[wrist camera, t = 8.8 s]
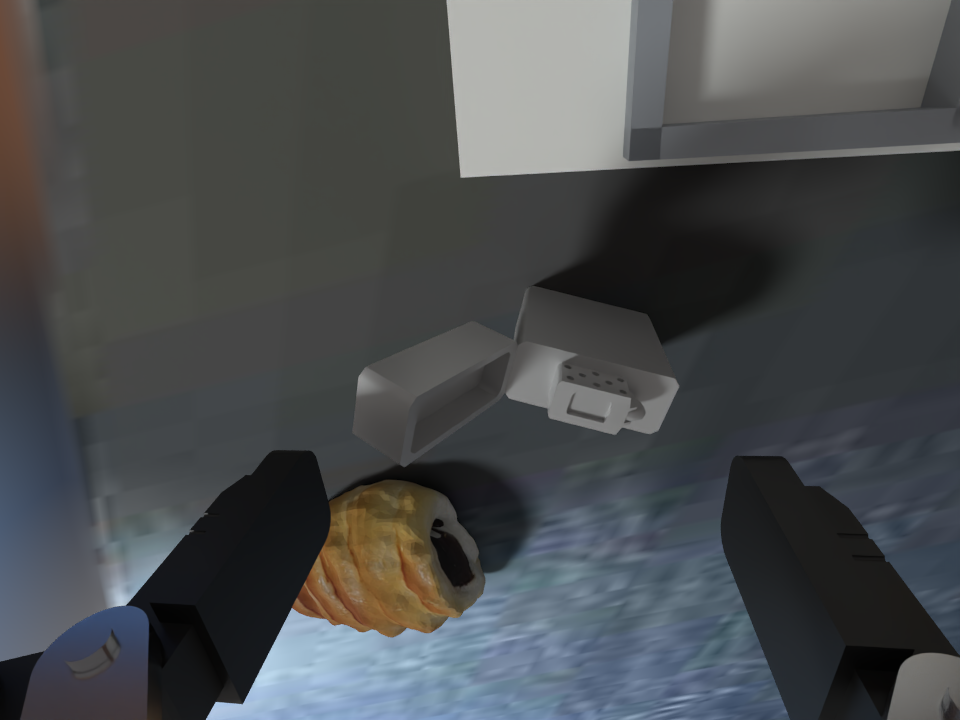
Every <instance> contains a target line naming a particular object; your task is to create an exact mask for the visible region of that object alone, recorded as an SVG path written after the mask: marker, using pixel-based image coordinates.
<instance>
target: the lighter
mask: <svg viewBox="0 0 960 720" xmlns="http://www.w3.org/2000/svg"><path fill="white" fill-rule="evenodd" d="M678 388H679V385H678V382H677V380H676V378H675V375H674V373H673V371H672V369H671V366H670V364H669V362H668V359H667V357H666V355H665V352H664V350H663V348H662V346H661V343H660V341H659V339H658V336H657V334H656V332H655V329H654V327H653V325H652V322H651V320H650V318H649V316H648V315H647V314H645V313H641V312H637V311H633V310H629V309H625V308H621V307H617V306H613V305H609V304H605V303H601V302H597V301H593V300H589V299H585V298H581V297H577V296H573V295H569V294H565V293H561V292H557V291H553V290H548V289H544V288H540V287H536V286H531V287H529V288H527V289H526V291H525V295H524V299H523V302H522V306H521V310H520V313H519V317H518V321H517V325H516V329H515V334H514V340H512V339H510V338H508V337H506V336H504V335H502V334H499V333H497V332H495V331H493V330H491V329H489V328H487V327H485V326H483V325H481V324H478V323H476V322H474V321H471V322H469V323H466V324H464V325H462V326H459V327H457V328H455V329H452V330H450V331H448V332H445V333H443V334H441V335H438V336H436V337H434V338H431V339H429V340H427V341H424V342H422V343H420V344H417V345H415V346H413V347H410V348H408V349H406V350H404V351H401V352H399V353H397V354H394V355H392V356H390V357H387V358H385V359H383V360H380V361H378V362H376V363H373V364H371V365H369V366H366V367H365V369H364V370H363V372H362V373H361V374H360V376H359V379H358V388H357V397H356V406H355V415H354V424H353V434H355V435H356V436H358V437H359V438H361V439H362V440H364V441H365V442H367V443H368V444H370V445H371V446H373V447H374V448H376V449H377V450H379V451H380V452H382V453H383V454H385V455H386V456H388V457H389V458H391V459H392V460H394V461H395V462H397V463H398V464H400V465H401V466H403V467H406V466H407V465H408V464H410V463H411V462H413V461H414V460H415V459H417V458H418V457H420V456H421V455H423V454H424V453H425V452H427V451H428V450H430V449H431V448H432V447H434V446H435V445H437V444H438V443H440V442H441V441H442V440H444V439H445V438H447V437H448V436H449V435H451V434H452V433H454V432H455V431H456V430H458V429H459V428H461V427H462V426H464V425H465V424H466V423H468V422H469V421H471V420H472V419H473V418H475V417H476V416H478V415H479V414H481V413H482V412H483V411H485V410H486V409H488V408H489V407H490V406H492V405H493V404H495V403H496V402H497V401H499V400H500V399H501V398H502V396H503V394H504V393H506V395H507V396H508V398H509V399H513V400H517V401H521V402H525V403H529V404H533V405H536V406H540V407H544V408H548V416H549V418H551V419H555V420H559V421H563V422H566V423H570V424H574V425H578V426H582V427H586V428H590V429H594V430H598V431H602V432H606V433H610V434H614V435H616V434H617V433H618V431H619V430H620V429H621V428H622V427H623V428H627V429H631V430H635V431H639V432H643V433H647V434H651V433H653V432H656V431H658V430H659V428H660V426H661V424H662V422H663V419H664V417H665V415H666V413H667V411H668V409H669V407H670V405H671V402H672V400H673V398H674V396H675V394H676V392H677V390H678Z"/></svg>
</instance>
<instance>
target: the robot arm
mask: <svg viewBox="0 0 960 720" xmlns="http://www.w3.org/2000/svg"><path fill="white" fill-rule="evenodd" d="M330 523H331V511H330V506H329V502H328V499H327V495H326V491H325V488H324V484H323V480H322V477H321V473H320V469H319V466H318V462H317V459H316V456H315V455H314V453H313V452H311V451H295V450H274V451H272V452H270V453H269V454H268V455H267V456H266V457H265V459H264V460H263V461H262V462H261V464H260V465H259V466H258V467H257V469H256V470H255V471H254V472H253V474H252V475H245V476H244V477H243V478H241V479H240V480H238V481H237V482H236V483H234V484H233V485H231V486H230V487H229V488H227V489H226V490H224V491H223V492H222V493H221V494H220V495H219V496H218V497H217V499H216V500H215V501H214V502H213V503H212V504H211V506H210V507H209V508H208V509H207V510H206V512H205V513H204V517H201V518H200V519H199V520H198V521H197V522H196V523H195V525H194V526H193V527H192V528H191V529H190V533H189V535H185V536H184V538H183V539H182V540H181V541H180V542H179V544H178V545H177V546H176V547H175V548H174V550H173V551H172V552H171V553H170V554H169V555H168V557H167V558H166V559H165V560H164V561H163V563H162V564H161V565H160V566H159V567H158V568H157V570H156V571H155V572H154V573H153V574H152V576H151V577H150V578H149V579H148V580H147V582H146V583H145V584H144V585H143V586H142V587H141V589H140V590H139V591H138V592H137V593H136V595H135V596H134V597H133V598H132V599H131V600H130V602H129V603H128V604H127V605H126V606H118V607H113V608H109V609H105V610H103V611H100V612H97V613H95V614H93V615H91V616H89V617H87V618H85V619H83V620H81V621H80V622H78V623H76V624H75V625H73V626H72V627H71V628H69V629H68V630H66V631H65V632H64V633H63V634H62V635H60V636H59V637H58V638H57V639H56V640H55V641H54V642H53V643H52V644H51V645H50V646H49V647H48V648H47V649H46V650H45V651H43V652H39V653H35V654H31V655H27V656H22V657H18V658H14V659H10V660H6V661H1V662H0V720H206V718H207V716H208V715H209V713H210V711H211V709H212V707H213V706H214V704H215V702H225V703H236V704H243V703H244V701H245V699H246V697H247V695H248V693H249V691H250V689H251V687H252V685H253V683H254V681H255V679H256V677H257V675H258V673H259V671H260V669H261V667H262V665H263V663H264V661H265V659H266V657H267V655H268V653H269V652H270V650H271V648H272V646H273V644H274V642H275V640H276V638H277V636H278V634H279V632H280V630H281V628H282V626H283V624H284V622H285V620H286V618H287V616H288V614H289V612H290V610H291V608H292V606H293V604H294V602H295V601H296V599H297V597H298V595H299V593H300V591H301V589H302V587H303V585H304V583H305V581H306V579H307V577H308V575H309V573H310V571H311V569H312V567H313V565H314V563H315V561H316V559H317V557H318V555H319V553H320V551H321V550H322V548H323V546H324V544H325V542H326V539H327V537H328V534H329V530H330ZM721 538H722V544H723V549H724V553H725V556H726V559H727V561H728V564H729V566H730V569H731V571H732V574H733V576H734V579H735V581H736V584H737V586H738V589H739V591H740V594H741V596H742V599H743V601H744V604H745V606H746V609H747V612H748V614H749V617H750V619H751V622H752V624H753V627H754V629H755V632H756V634H757V637H758V639H759V642H760V644H761V647H762V649H763V652H764V654H765V657H766V659H767V662H768V665H769V667H770V670H771V672H772V675H773V677H774V680H775V682H776V685H777V687H778V690H779V692H780V695H781V697H782V700H783V702H784V705H785V707H786V710H787V712H788V715H789V718H790V720H960V655H959V654H958V653H957V652H956V651H955V649H954V648H953V647H952V645H951V644H950V643H949V641H948V640H947V639H946V637H945V636H944V635H943V633H942V632H941V631H940V629H939V628H938V627H937V625H936V624H935V623H934V621H933V620H932V619H931V617H930V616H929V615H928V613H927V612H926V611H925V609H924V608H923V607H922V605H921V604H920V603H919V601H918V600H917V599H916V597H915V596H914V595H913V593H912V592H911V591H910V589H909V588H908V587H907V585H906V584H905V583H904V581H903V580H902V579H901V577H900V576H899V575H898V573H897V572H896V571H895V569H894V568H893V567H892V565H891V564H890V563H889V562H886V561H885V556H884V555H883V553H882V552H881V551H880V549H879V548H878V547H877V545H876V544H875V543H874V541H873V540H872V539H869V538H868V533H867V532H866V531H865V529H864V528H863V527H862V525H861V524H860V523H859V521H858V520H857V519H856V517H855V516H854V515H853V513H852V512H851V511H850V509H849V508H848V507H846V506H845V505H844V504H842V503H841V502H840V501H838V500H837V499H836V498H834V497H833V496H832V495H830V494H829V493H828V492H826V491H825V490H823V489H822V488H821V487H819V486H804V485H803V483H802V482H801V480H800V479H799V477H798V476H797V474H796V473H795V471H794V470H793V468H792V467H791V465H790V464H789V462H788V461H787V460H786V459H785V458H784V457H781V456H736V457H734V459H733V460H732V463H731V467H730V473H729V479H728V484H727V490H726V496H725V501H724V507H723V513H722V518H721Z"/></svg>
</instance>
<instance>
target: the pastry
mask: <svg viewBox="0 0 960 720" xmlns="http://www.w3.org/2000/svg"><path fill="white" fill-rule="evenodd" d="M329 506H330V511H331V523H330V530H329V534H328V537H327V539H326V542H325V544H324V546H323V548H322V550H321V551H320V553H319V555H318V557H317V559H316V561H315V563H314V565H313V567H312V569H311V571H310V573H309V575H308V577H307V579H306V581H305V583H304V585H303V587H302V589H301V591H300V593H299V595H298V597H297V599H296V601H295V602H294V604H293V606H292V608H293V609H294V610H296V611H297V612H299V613H301V614H303V615H306V616H309V617H315V618H322V619H327V620H328V621H329V622H330V623H331V624H332V625H339V624H344V625H348V626H350V627H352V628H354V629H356V630H358V631H359V632H366V631H369V630H371V629H374V630H377V631H378V632H379V633H381V634H383V635H385V636H388V637H395V636H397V635H399V634H401V633H402V632H403V631H404V630H405V629H406V628H410V629H415V630H418V631H421V632H423V633H431V632H433V631H434V630H436V629H438V628H439V627H440V626H442V624H443V623H444V622H445V621H446V620H447V618H448V617H453V618H458V617H460V616H461V615H462V613H463V611H465V610H466V609H468V608H469V607H470V606H472V605H473V604H474V603H475V602H476V600H477V598H479V597H480V596H481V595H482V594H483V590H484V585H485V576H484V574H483V571H482V569H481V565H480V560H479V558H478V555H479V550H478V548H477V546H476V543H475V541H474V539H473V538H472V537H471V536H470V535H469V533H468V532H467V531H466V529H465V528H464V527H463V526H462V525H461V524H460V523H459V522H458V521H457V514H456V511H455V509H454V508H453V506H452V504H451V503H450V501H449V499H448V498H447V497H446V496H445V495H443V494H442V493H440V492H438V491H435V490H433V489H430V488H426V487H423V486H421V485H418V484H416V483H413V482H408V481H401V480H388V479H386V480H384V481H381V482H378V483H374V484H371V485H366V486H363V485H361V486H359V487H357V488H355V489H353V490H352V491H348V492H346V493H344V494H343V495H341V496H339V497H337V498H334V499H333V500H331V501H329Z"/></svg>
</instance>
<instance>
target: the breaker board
mask: <svg viewBox="0 0 960 720" xmlns="http://www.w3.org/2000/svg"><path fill="white" fill-rule="evenodd" d="M447 10H448V22H449V35H450V47H451V60H452V73H453V85H454V98H455V110H456V123H457V136H458V148H459V161H460V173H461V177H480V176H498V175H517V174H535V173H553V172H572V171H590V170H609V169H627V168H646V167H664V166H683V165H701V164H720V163H738V162H757V161H775V160H793V159H812V158H830V157H849V156H867V155H886V154H904V153H923V152H941V151H960V0H447Z"/></svg>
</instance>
